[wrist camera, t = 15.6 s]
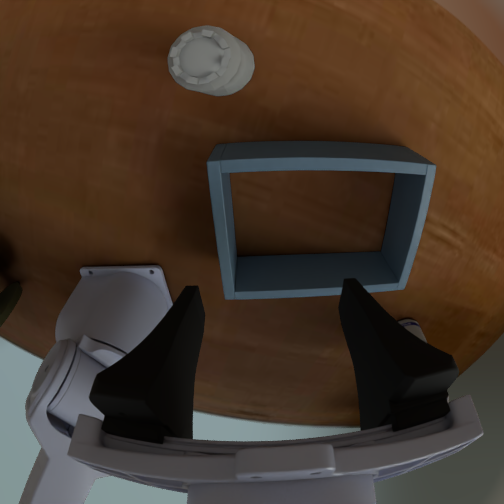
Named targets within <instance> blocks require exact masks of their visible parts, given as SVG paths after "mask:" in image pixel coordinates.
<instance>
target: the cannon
mask: <svg viewBox="0 0 504 504" xmlns="http://www.w3.org/2000/svg"><path fill="white" fill-rule="evenodd" d="M21 293H22V287H21V286H20V285H19V283H18V282H15V283H13V284H11V285H9V286H8V287H7V288H6V289H4V290H3V291H2V292H1V293H0V327H1V326H2V324H3V323H4V322H5V320H6V319H7V317H8V316H9V315H10V313H11V312H12V310H13V309H14V307H15V305H16V304H17V302H18V300H19V298H20V296H21Z"/></svg>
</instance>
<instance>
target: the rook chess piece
mask: <svg viewBox="0 0 504 504" xmlns="http://www.w3.org/2000/svg"><path fill="white" fill-rule="evenodd" d="M168 66H169V72H170V73H171V75H172V77H173V78H174V80H175V81H176V82H177V83H178V84H180V85H181V86H183V87H184V88H186V89H188V90H193V91H198V92H202V93H205V94H209V95H214V96H224V95H231V94H233V93H235V92H237V91H239V90H241V89H242V88H243V87H244V86H245V85H246V84H247V83H248V82H249V81H250V80H251V77H252V74H253V71H254V68H255V66H254V56H253V54H252V52H251V51H250V49H249V48H248V46H247V45H246V44H245V43H243V42H242V41H240V40H239V39H238V38H236V37H233V35H231V34H229V33H228V32H226V31H225V30H223V29H222V28H218V27H213V26H201V27H195V28H192V29H190V30H188V31H186V32H185V33H183V34H181V35H180V36H179V37H178V38H177V40H176V41H175V42H174V43H173V45H172V46H171V49H170V52H169V55H168Z"/></svg>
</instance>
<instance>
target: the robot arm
mask: <svg viewBox="0 0 504 504" xmlns="http://www.w3.org/2000/svg"><path fill="white" fill-rule="evenodd" d="M151 270H153V271H154V272H152V271H151ZM91 271H92V272H91ZM80 274H81V276H82V278H81V280H80V281H79V283H78V285H77V286H76V288H75V289H74V291H73V293H72V294H71V296H70V297H69V299H68V301H67V302H66V304H65V306H64V307H63V309H62V311H61V312H60V314H59V316H58V319H57V323H56V331H55V336H56V342H57V343H56V344H55V345H54V346H53V347H52V348H51V350H50V351H49V353H48V354H47V356H46V357H45V359H44V361H43V363H42V364H41V366H40V368H39V370H38V372H37V374H36V377H35V380H34V382H33V385H32V389H31V391H30V393H29V395H28V397H27V400H26V405H25V409H26V419H27V422H28V424H29V426H30V428H31V430H32V432H33V433H34V435H35V437H36V438H37V440H38V442H39V444H40V445H41V447H42V448H41V450H40V452H39V455H38V457H37V459H36V461H35V463H34V466H33V468H32V471H31V473H30V475H29V478H28V480H27V483H26V486H25V488H24V491H23V494H22V496H21V499H20V502H19V504H84V502H85V500H86V498H87V495H88V493H89V491H90V489H91V487H92V485H93V483H94V481H95V480H96V479H98V478H102V477H107V476H115V477H119V478H122V479H125V480H129V481H133V482H136V483H140V484H144V485H148V486H153V487H157V488H162V489H166V490H172V491H177V492H183V493H188V497H187V504H376V496H375V489H374V482H378V481H382V480H385V479H388V478H391V477H395V476H398V475H401V474H404V473H406V472H409V471H412V470H415V469H417V468H420V467H423V466H425V465H428V464H430V463H433V462H435V461H438V460H440V459H442V458H445V457H447V456H449V455H451V454H454V453H456V452H458V451H460V450H461V449H463V448H464V447H466V446H467V445H469V444H470V443H472V442H473V441H475V440H476V439H478V438H479V437H480V436H482V435H483V429H482V426H481V424H480V420H479V418H478V415H477V412H476V409H475V406H474V404H473V401H472V398H471V396H470V394H467V395H465V396H463V397H460V398H457V399H455V400H452V401H451V402H449V403H448V402H447V399H446V398H448V392H447V389H448V388H449V387H450V386H451V384H452V383H453V382H454V381H455V380H456V378H457V377H458V374H459V370H458V367H457V365H456V363H455V361H454V359H453V357H452V355H449V354H447V353H445V352H443V351H441V350H439V349H437V348H435V347H433V346H431V345H430V344H428V343H426V342H425V341H423V340H421V339H420V338H418V337H417V336H415V335H414V334H413V333H411V332H410V331H408V330H407V329H406V328H405V327H403V326H402V325H401V324H400V323H398V322H397V321H396V320H395V319H394V318H393V317H392V316H391V315H390V314H388V313H387V312H386V311H385V310H384V309H383V308H382V307H381V306H380V304H379V303H378V302H377V301H376V300H375V299H374V298H373V297H372V296H371V295H370V294H369V293H368V291H367V290H366V289H365V288H364V287H363V286H362V285H361V284H360V282H359V281H358V280H357V279H356V278H346V279H344V281H343V286H342V292H341V297H340V302H339V307H338V308H339V314H340V320H341V325H342V328H343V332H344V335H345V338H346V341H347V345H348V348H349V351H350V354H351V358H352V361H353V365H354V370H355V376H356V383H357V390H358V398H359V409H360V426H361V431H357V432H352V433H346V434H339V435H333V436H326V437H317V438H308V439H296V440H282V441H254V442H253V441H251V442H240V441H239V442H237V441H236V442H235V441H209V440H195V439H193V422H192V421H193V396H194V382H195V373H196V367H197V362H198V357H199V352H200V347H201V343H202V338H203V333H204V322H205V312H204V308H203V304H202V300H201V296H200V291H199V287H198V286H186V287H185V288H184V289H183V291H182V292H181V294H180V295H179V297H178V298H177V300H176V301H175V302H174V304H173V303H172V300H171V296H170V293H169V290H168V287H167V284H166V280H165V277H164V273H163V270H162V268H161V267H160V266H157V265H150V266H106V267H82V268H81V269H80Z"/></svg>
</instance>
